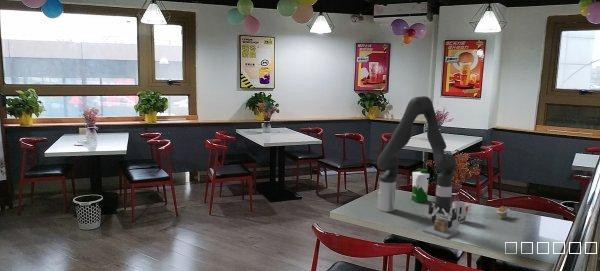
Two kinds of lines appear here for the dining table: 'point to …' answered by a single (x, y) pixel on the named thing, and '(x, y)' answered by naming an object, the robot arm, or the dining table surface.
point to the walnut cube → (441, 225)
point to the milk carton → (420, 186)
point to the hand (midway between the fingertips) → (441, 225)
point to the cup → (461, 211)
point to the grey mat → (444, 235)
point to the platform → (502, 212)
